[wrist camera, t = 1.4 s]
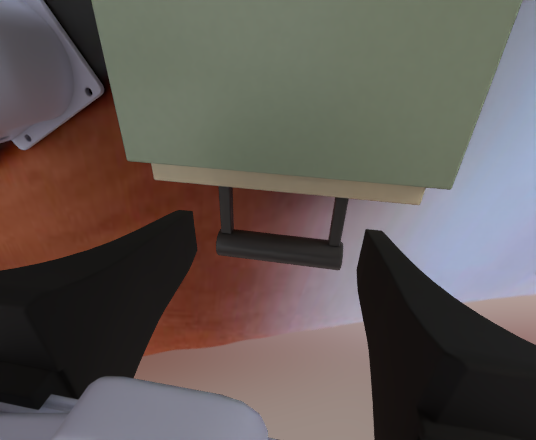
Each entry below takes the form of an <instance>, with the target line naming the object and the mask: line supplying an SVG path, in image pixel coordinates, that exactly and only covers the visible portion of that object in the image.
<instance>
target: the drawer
mask: <svg viewBox="0 0 536 440" xmlns="http://www.w3.org/2000/svg"><path fill="white" fill-rule="evenodd" d="M151 165H152V171H153V176H154V180H163V181H173V182H184V183H194V184H204V185H215V186H219V200H220V216H221V229H220V231H219V233H218V236H217V241H216V251H217V254H218V255H222V256H230V257H238V258H246V259H254V260H262V261H269V262H277V263H285V264H293V265H301V266H309V267H317V268H325V269H333V270H340V268H341V265H342V258H343V243H342V242H341V236H342V231H343V226H344V220H345V215H346V210H347V204H348V199H349V198H350V199H360V200H371V201H381V202H392V203H402V204H412V205H420V203H421V200H422V197H423V194H424V191H425V188H426V187H414V186H403V185H392V184H381V183H369V182H358V181H347V180H336V179H324V178H313V177H302V176H290V175H279V174H268V173H257V172H245V171H234V170H223V169H212V168H200V167H189V166H178V165H167V164H155V163H151ZM232 187H236V188H246V189H256V190H267V191H277V192H288V193H298V194H308V195H319V196H329V197H335V202H334V208H333V214H332V221H331V227H330V233H329V240H322V239H314V238H305V237H296V236H288V235H279V234H270V233H261V232H253V231H244V230H235V229H234V220H233V193H232Z"/></svg>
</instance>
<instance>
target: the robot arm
mask: <svg viewBox="0 0 536 440" xmlns="http://www.w3.org/2000/svg"><path fill="white" fill-rule="evenodd" d="M89 88H90V89H91V91H92V95H91V94H90V92H89ZM103 93H104V87H103V85H102V83H101V82H100V80H99V79H98V77H97V76H96V75H95V73H94V72H93V70H92V69H91V67H90V66H89V65H88V63H87V62H86V60H85V59H84V57H83V56H82V55H81V53H80V52H79V50H78V49H77V47H76V46H75V45H74V43H73V42H72V40H71V39H70V37H69V36H68V35H67V33H66V32H65V30H64V29H63V28H62V26H61V25H60V23H59V22H58V20H57V19H56V18H55V16H54V15H53V13H52V12H51V10H50V9H49V8H48V6H47V5H46V3H45V2H44V0H0V143H2V142H6V141H9V140H12V141H13V142H14V143H15V145H16V146H17V147H18V148H20V149H21V150H27V149H29V148H31V147H32V146H34V145H35V144H36V143H38V142H39V141H40V140H42V139H43V138H44V137H46V136H47V135H48V134H50V133H51V132H52V131H54V130H55V129H57V128H58V127H59V126H61V125H62V124H63V123H65V122H66V121H67V120H69V119H70V118H71V117H73V116H74V115H75V114H77V113H78V112H80V111H81V110H82V109H84V108H85V107H86V106H88V105H89V104H90V103H92V102H93V101H94V100H96V99H97V98H98V97H100V96H101V95H102V94H103ZM29 136H30V137H31V138H30V137H29ZM196 252H197V243H196V235H195V227H194V219H193V211H185V210H178V211H175V212H173V213H170V214H168V215H166V216H164V217H162V218H160V219H158V220H156V221H154V222H152V223H150V224H148V225H146V226H144V227H142V228H140V229H138V230H136V231H134V232H132V233H129V234H127V235H125V236H123V237H121V238H118V239H116V240H114V241H111V242H109V243H106V244H104V245H101V246H98V247H95V248H92V249H90V250H87V251H83V252H80V253H77V254H73V255H70V256H66V257H63V258H59V259H56V260H52V261H47V262H43V263H39V264H34V265H29V266H25V267H19V268H14V269H8V270H2V271H0V440H278V439H273V438H268V431H267V428H266V426H265V424H264V422H263V419H262V417H261V416H260V415H259V413H257V412H256V411H255V410H254V409H252V408H251V407H249V406H248V405H247V404H245V403H244V402H242V401H239V400H236V399H233V398H230V397H227V396H224V395H220V394H215V393H209V392H204V391H199V390H193V389H188V388H182V387H177V386H172V385H166V384H161V383H155V382H150V381H145V380H139V379H134V376H135V373H136V371H137V368H138V365H139V363H140V361H141V359H142V356H143V354H144V352H145V349H146V347H147V345H148V343H149V340H150V338H151V336H152V334H153V332H154V330H155V328H156V325H157V323H158V321H159V319H160V317H161V315H162V314H163V312H164V310H165V308H166V307H167V305H168V304H169V302H170V300H171V299H172V297H173V295H174V294H175V292H176V291H177V289H178V287H179V286H180V284H181V282H182V281H183V279H184V277H185V276H186V274H187V272H188V271H189V269H190V267H191V264H192V262H193V260H194V257H195V255H196ZM357 286H358V295H359V300H360V305H361V311H362V316H363V321H364V326H365V331H366V336H367V342H368V349H369V358H370V371H371V384H372V399H373V417H374V436H375V440H536V345H534V344H532V343H530V342H528V341H526V340H524V339H522V338H520V337H518V336H516V335H515V334H513V333H511V332H509V331H507V330H506V329H504V328H502V327H500V326H498V325H497V324H495V323H493V322H491V321H490V320H488V319H486V318H485V317H483V316H481V315H480V314H478V313H477V312H475V311H474V310H472V309H470V308H469V307H467V306H466V305H464V304H463V303H461V302H460V301H458V300H457V299H456V298H454V297H453V296H451V295H450V294H449V293H448V292H446V291H445V290H444V289H442V288H441V287H440V286H438V285H437V284H436V283H435V282H433V281H432V280H431V279H430V278H429V277H428V276H426V275H425V274H424V273H423V272H422V271H421V270H420V269H419V268H417V267H416V266H415V265H414V264H413V263H412V262H411V261H410V260H409V259H408V258H407V257H406V256H405V255H404V254H403V253H402V252H401V251H400V250H399V249H398V247H397V246H396V245H395V244H394V243H393V242H392V241H391V240H390V239H389V238H388V237H387V236H386V235H385V233H384V232H383V231H379V230H369V229H366V230H365V235H364V239H363V244H362V248H361V253H360V257H359V261H358V266H357Z"/></svg>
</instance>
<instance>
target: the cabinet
mask: <svg viewBox="0 0 536 440" xmlns="http://www.w3.org/2000/svg"><path fill="white" fill-rule="evenodd" d="M91 1H92V6H93V10H94V15H95V19H96V24H97V28H98V33H99V37H100V42H101V46H102V51H103V55H104V59H105V64H106V68H107V73H108V77H109V82H110V86H111V91H112V95H113V100H114V104H115V109H116V113H117V117H118V122H119V126H120V131H121V135H122V140H123V144H124V149H125V153H126V158H127V160H128V161H133V162H144V163H155V164H167V165H178V166H189V167H200V168H212V169H223V170H234V171H245V172H257V173H268V174H279V175H290V176H302V177H313V178H324V179H336V180H347V181H358V182H369V183H381V184H392V185H403V186H414V187H426V188H437V189H448V190H450V189H451V188H452V186H453V183H454V181H455V178H456V175H457V173H458V170H459V167H460V165H461V162H462V160H463V157H464V154H465V152H466V149H467V146H468V144H469V141H470V138H471V136H472V133H473V130H474V128H475V125H476V123H477V120H478V117H479V115H480V112H481V109H482V107H483V104H484V101H485V99H486V96H487V93H488V91H489V88H490V85H491V83H492V80H493V78H494V75H495V72H496V70H497V67H498V64H499V62H500V59H501V56H502V54H503V51H504V48H505V46H506V43H507V40H508V38H509V35H510V33H511V30H512V27H513V25H514V22H515V19H516V17H517V14H518V11H519V9H520V6H521V3H522V1H523V0H91Z"/></svg>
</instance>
